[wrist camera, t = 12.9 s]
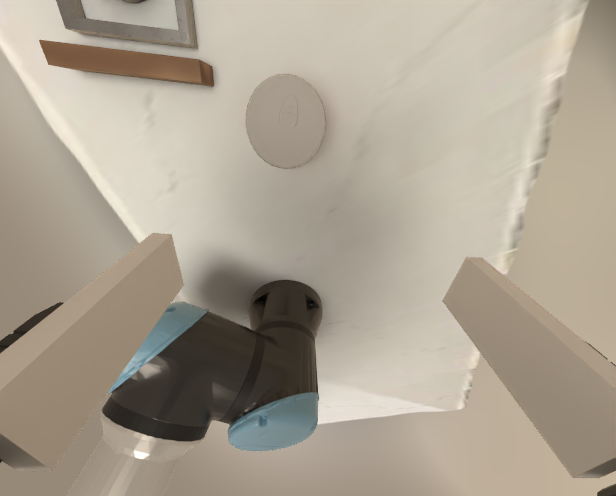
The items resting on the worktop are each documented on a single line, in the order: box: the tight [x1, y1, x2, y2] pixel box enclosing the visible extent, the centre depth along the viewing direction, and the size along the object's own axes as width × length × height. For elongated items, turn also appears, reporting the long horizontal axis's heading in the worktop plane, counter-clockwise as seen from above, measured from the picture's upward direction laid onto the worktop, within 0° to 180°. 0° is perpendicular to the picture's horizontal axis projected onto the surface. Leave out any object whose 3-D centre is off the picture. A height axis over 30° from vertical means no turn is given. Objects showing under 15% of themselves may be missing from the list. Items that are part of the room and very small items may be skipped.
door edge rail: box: [39, 40, 214, 86], centre depth 26 cm, size 2×16×4 cm, turn 85°
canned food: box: [246, 74, 326, 169], centre depth 26 cm, size 8×8×11 cm
